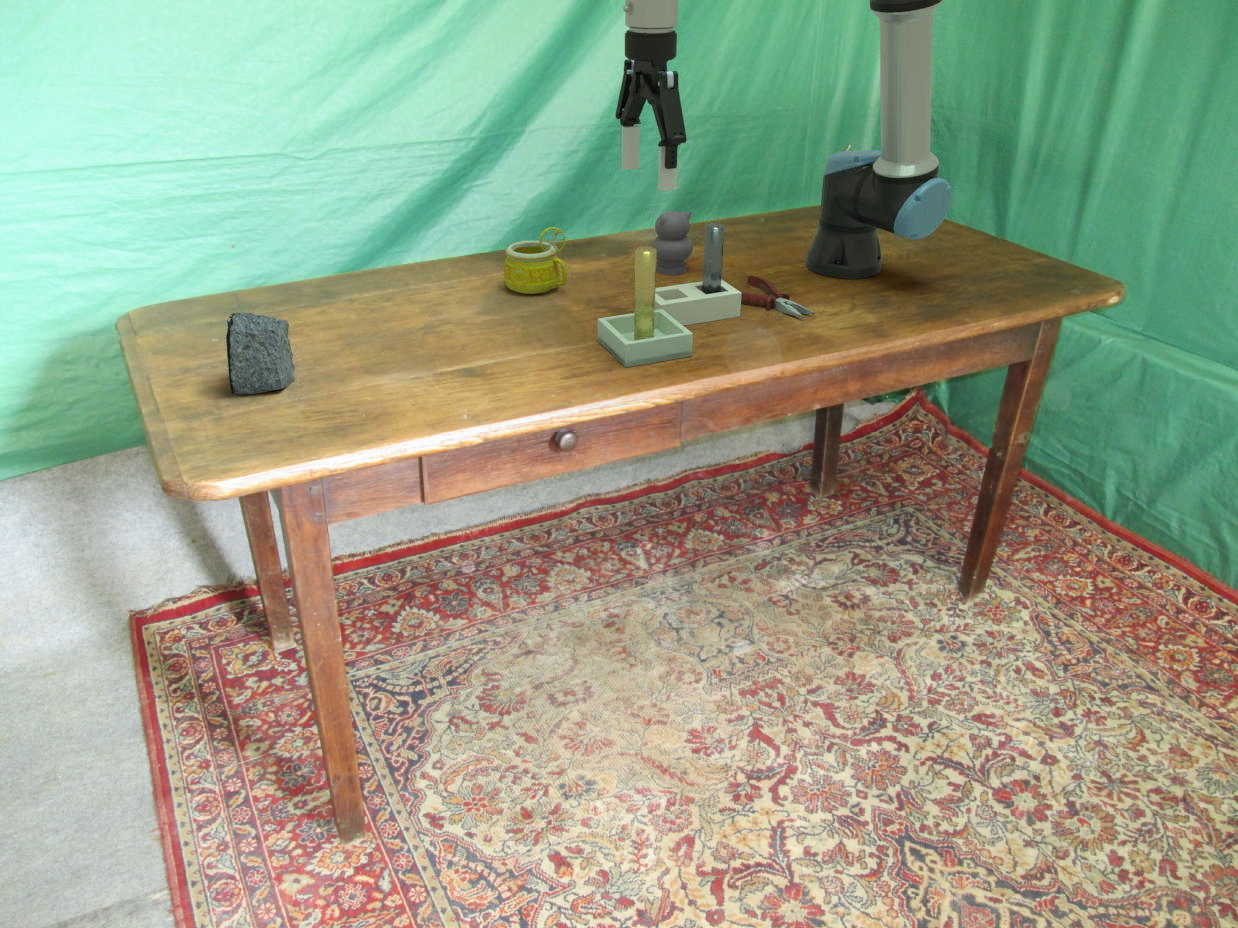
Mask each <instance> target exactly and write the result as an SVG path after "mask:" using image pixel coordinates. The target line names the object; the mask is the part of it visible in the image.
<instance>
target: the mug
mask: <svg viewBox="0 0 1238 928" xmlns="http://www.w3.org/2000/svg"><path fill="white" fill-rule="evenodd" d="M552 230H555V231H554V236H553V237H552V236H551V233H550V231H552ZM545 233H546V234H547V235H548V237H549V238H550V239H542V238H543V236H544V234H545ZM560 233H561V235H562V236H563V238H562V239H560V238H559V239H556V237H557V236H558V235H559V234H560ZM549 242H550V243H549ZM555 242H559V243H561V242H562V245H561V246H560V248H558V246H557V245H556V243H555ZM565 246H566V236H565V234H564V231H562V230H561V229H560V228H558V227H555V226H554V227H551V226H550V227H548V228H545V229H544V230H543V231H542V232H541V234H540V236H539V239H538V240H522V241H517V242H514V243H511V244H510V245H509V246H508V247H506V248H505V250H504V251H505V252H504V253H505V259H504V270H503V280H504V284H505V285H506V287H507V288H508V289H509V290H511V291H513V292H515V293H520V294H523V295H538V294H545V293H547V292H550V291H553V290H554V289H556V288H559V287H561V286H564V285H566V282H567V279H568V277H567V276H568V273H567V268H566V265H565V264H566V263H564V261H563V260H561V259H560V258H558V256H557V254H558V253H560V252H561V251H562V250H563V249H564V247H565ZM560 267H561V270H562V280H560V279H561V273H560V272H561V271H560Z"/></svg>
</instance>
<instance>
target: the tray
mask: <svg viewBox="0 0 1238 928" xmlns="http://www.w3.org/2000/svg"><path fill="white" fill-rule="evenodd" d="M693 335H694V333H693V332H692V331H690V330H689V329H688V328H687V327H686V326H685V325H684V326H683V325H681V324H680V323H679V322H678V321H676V320H675V319H674V318H673V317H671V316H670V315H669V314H668V313H666V312H665V311H664V310H663V309H657V310H655V329H654V338H648V339H642V340H635V341H634V312H632V313H626V314H618V315H614V316H607V317H600V318H597V341H598V343H600V344H601V346H603V348H605V350H607V351H608V352H609V353H610V354H611V356H613V357H614V358H615V359H616V360H617V361H618V362H619V363H620V364H621V365H622V366H623V367H624V368H625V369H626V368H633V367H638V366H643V365H649V364H654V363H655V364H656V363H661V362H666V361H672V360H673V361H674V360H677V359H683V358H684V359H685V358H690V357H692V356H693V346H694V345H693V342H694V341H693V339H694V336H693Z"/></svg>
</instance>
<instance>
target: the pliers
mask: <svg viewBox="0 0 1238 928" xmlns="http://www.w3.org/2000/svg"><path fill="white" fill-rule="evenodd" d="M746 283H747V285H749V286H752V287H754V288H757V289H759V290H762V291H763V292H764V293H766V294H759V293H753V292H745V291H740V292H741V293H742V296H741V305H746V306H751V307H760V308H765V311H768V312H769V311H771V310H774V309H775V310H777V311H779V312H780V313H783V314H786V315H790V316H793V317H796V318H800V319H802V320H803V319H804V318H805V317H804V316H803V314H806V315H815V313H816V312H814V311H812V310H810V309H808V308H806V307H805V306H803V305H801V304H799V303H797V302H795V301H793V300H790V295H789V294H788V293H787V292H779V290H777V288H775V285H773V283H771V282H770V281H769V280H767V279H766V278H762V277H759V276H757V275H752V274H751V275H749V276H747V280H746Z"/></svg>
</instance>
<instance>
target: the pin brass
mask: <svg viewBox="0 0 1238 928" xmlns="http://www.w3.org/2000/svg"><path fill="white" fill-rule="evenodd" d="M656 253H657V250H656V249H655V248H653V247H652V246H639V247H637V248H635V251H634V312H633V313H634V341H635V340H642V339H648V338H654V329H655V291H656V288H657V286H656V285H657V284H656V283H657V271H656V262H657V258H656Z"/></svg>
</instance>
